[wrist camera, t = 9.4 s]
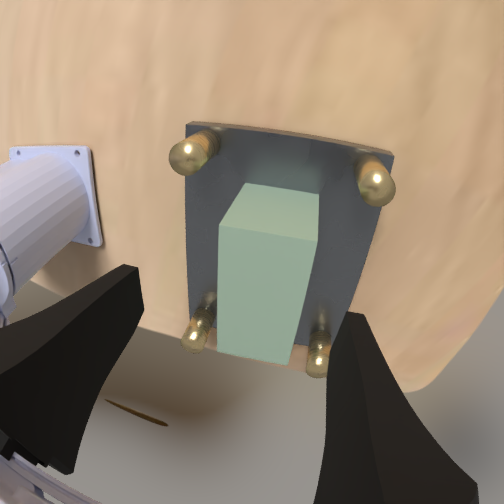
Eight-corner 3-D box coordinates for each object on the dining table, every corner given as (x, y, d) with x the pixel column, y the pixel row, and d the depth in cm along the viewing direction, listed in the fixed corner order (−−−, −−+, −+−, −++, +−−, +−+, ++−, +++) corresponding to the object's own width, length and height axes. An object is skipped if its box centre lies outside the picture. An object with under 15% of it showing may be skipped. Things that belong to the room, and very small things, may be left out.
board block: (237, 295, 21) (217, 351, 17) (245, 182, 17) (218, 224, 13) (296, 306, 21) (287, 365, 17) (319, 194, 17) (317, 241, 12)
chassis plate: (194, 313, 25) (176, 350, 21) (192, 121, 17) (161, 136, 13) (332, 340, 23) (331, 381, 20) (390, 151, 15) (409, 174, 12)
